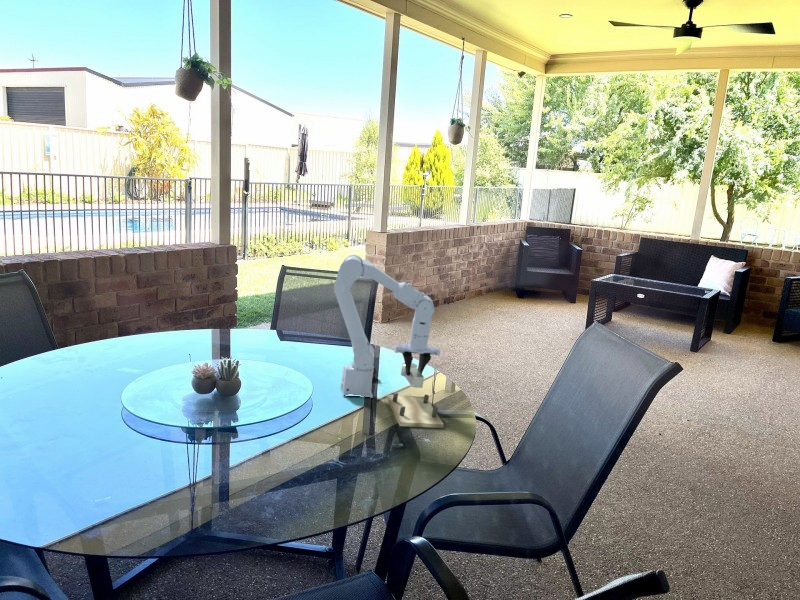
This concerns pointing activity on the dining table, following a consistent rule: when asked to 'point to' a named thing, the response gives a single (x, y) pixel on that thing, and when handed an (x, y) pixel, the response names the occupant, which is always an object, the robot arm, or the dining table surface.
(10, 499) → the dining table surface
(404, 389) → the dining table surface
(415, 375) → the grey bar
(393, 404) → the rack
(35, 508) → the dining table surface
